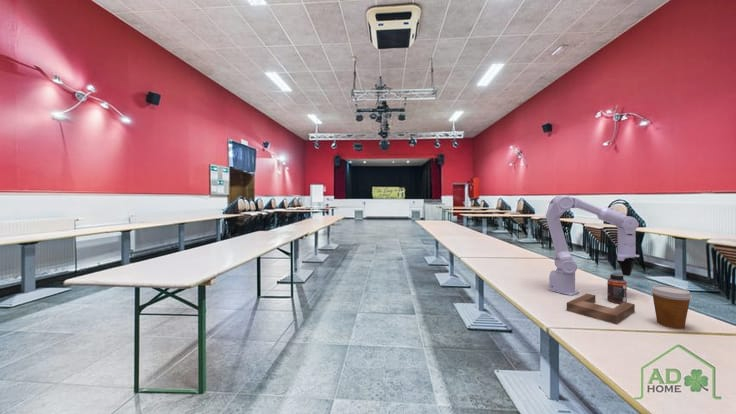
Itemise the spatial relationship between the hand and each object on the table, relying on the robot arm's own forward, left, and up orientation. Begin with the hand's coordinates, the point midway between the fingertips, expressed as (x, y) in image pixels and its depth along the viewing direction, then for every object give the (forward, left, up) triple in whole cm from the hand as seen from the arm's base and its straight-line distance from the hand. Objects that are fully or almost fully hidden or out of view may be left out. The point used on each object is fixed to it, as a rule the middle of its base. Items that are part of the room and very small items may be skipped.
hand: (626, 275), depth 121 cm
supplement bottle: (0, -11, -9) cm, 14 cm away
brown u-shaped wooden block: (0, -28, -9) cm, 29 cm away
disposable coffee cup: (+17, -23, -9) cm, 30 cm away
